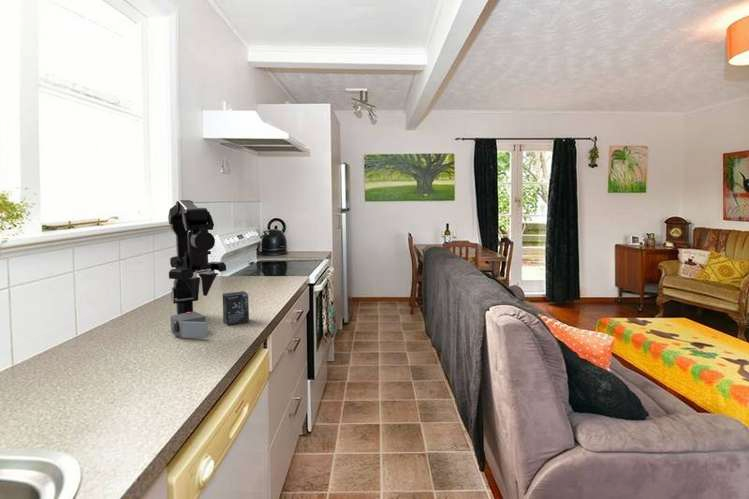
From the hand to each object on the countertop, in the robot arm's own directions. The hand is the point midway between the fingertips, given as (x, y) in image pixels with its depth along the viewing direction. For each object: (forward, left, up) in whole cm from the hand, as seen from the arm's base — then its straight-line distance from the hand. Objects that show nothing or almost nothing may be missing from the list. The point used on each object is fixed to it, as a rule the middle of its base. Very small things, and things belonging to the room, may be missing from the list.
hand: (200, 297), depth 136 cm
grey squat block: (-8, -1, -13) cm, 15 cm away
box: (-9, +16, -13) cm, 22 cm away
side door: (0, -3, -13) cm, 13 cm away
